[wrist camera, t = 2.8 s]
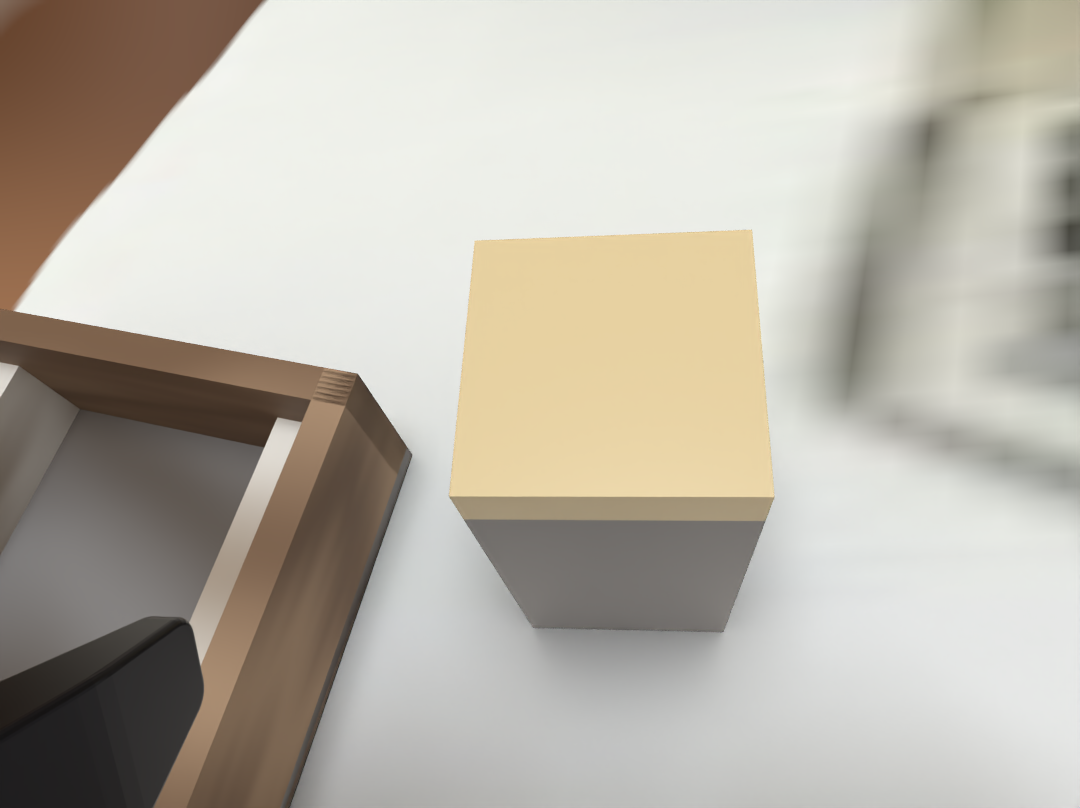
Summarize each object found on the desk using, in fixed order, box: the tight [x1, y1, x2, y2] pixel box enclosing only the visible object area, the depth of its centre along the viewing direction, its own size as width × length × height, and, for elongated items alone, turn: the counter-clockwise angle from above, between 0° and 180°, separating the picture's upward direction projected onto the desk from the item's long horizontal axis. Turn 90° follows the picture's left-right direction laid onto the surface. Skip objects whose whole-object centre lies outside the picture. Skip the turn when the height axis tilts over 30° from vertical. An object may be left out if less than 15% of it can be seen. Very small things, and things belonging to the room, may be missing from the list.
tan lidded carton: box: [449, 230, 774, 632], centre depth 16 cm, size 4×4×9 cm
